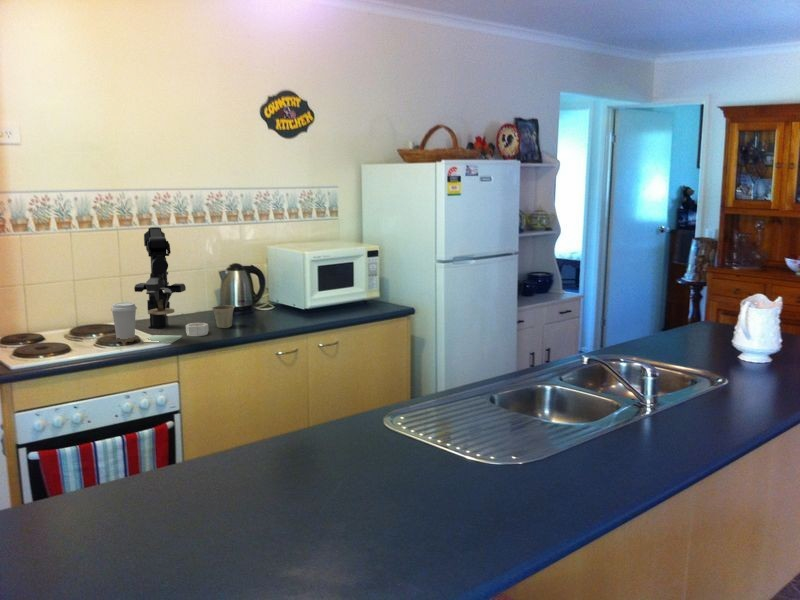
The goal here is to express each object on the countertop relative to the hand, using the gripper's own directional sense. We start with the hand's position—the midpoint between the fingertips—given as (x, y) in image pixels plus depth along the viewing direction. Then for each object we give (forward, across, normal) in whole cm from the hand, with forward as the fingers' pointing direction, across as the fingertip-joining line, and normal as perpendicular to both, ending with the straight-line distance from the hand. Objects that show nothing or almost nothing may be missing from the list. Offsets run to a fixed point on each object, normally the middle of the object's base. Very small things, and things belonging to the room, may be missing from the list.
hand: (161, 309), depth 290 cm
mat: (+12, 0, 0) cm, 12 cm away
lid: (+1, 0, 0) cm, 1 cm away
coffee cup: (+12, -13, -5) cm, 19 cm away
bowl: (+12, +10, +11) cm, 20 cm away
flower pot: (+13, +16, +27) cm, 34 cm away
